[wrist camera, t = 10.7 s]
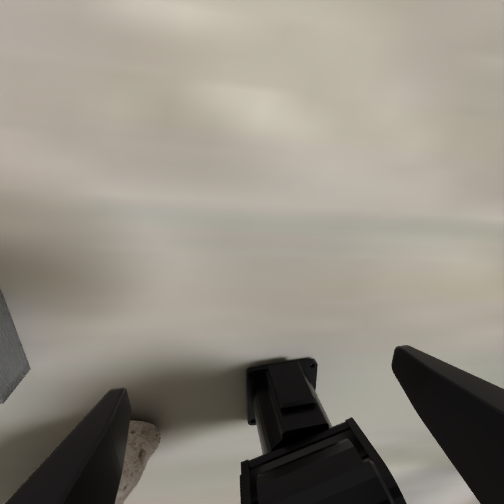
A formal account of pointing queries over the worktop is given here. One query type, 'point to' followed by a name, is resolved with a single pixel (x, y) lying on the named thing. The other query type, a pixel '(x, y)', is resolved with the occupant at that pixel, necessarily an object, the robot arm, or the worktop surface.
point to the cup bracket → (10, 354)
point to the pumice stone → (136, 455)
